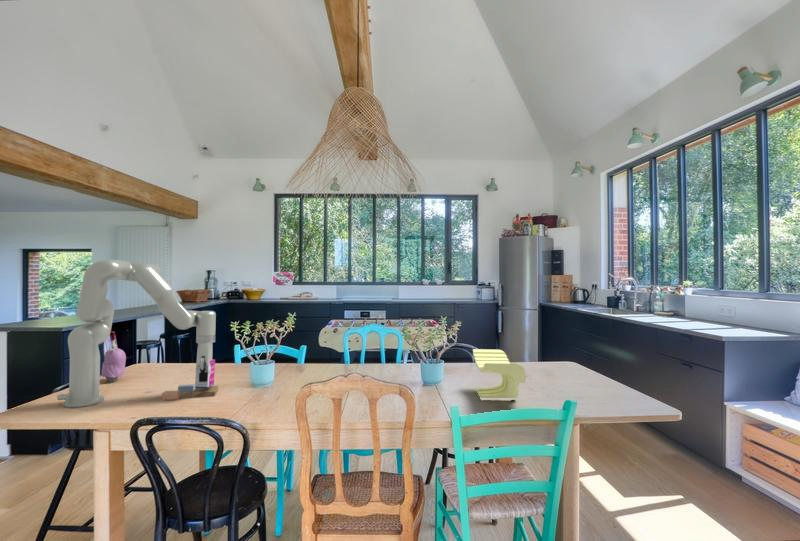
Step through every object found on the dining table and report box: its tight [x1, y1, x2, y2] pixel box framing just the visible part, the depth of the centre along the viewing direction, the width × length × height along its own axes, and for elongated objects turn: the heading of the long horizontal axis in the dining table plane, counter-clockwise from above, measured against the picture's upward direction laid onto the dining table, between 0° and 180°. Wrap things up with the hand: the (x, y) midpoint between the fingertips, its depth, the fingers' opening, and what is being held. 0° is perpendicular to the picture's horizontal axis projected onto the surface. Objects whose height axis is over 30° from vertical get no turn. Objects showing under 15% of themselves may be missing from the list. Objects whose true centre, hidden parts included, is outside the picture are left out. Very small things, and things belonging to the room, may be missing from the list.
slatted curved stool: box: [472, 348, 526, 399], centre depth 165 cm, size 30×16×18 cm, turn 178°
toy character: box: [100, 339, 127, 383], centre depth 186 cm, size 12×10×20 cm
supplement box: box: [194, 358, 216, 388], centre depth 166 cm, size 6×6×12 cm
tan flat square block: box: [190, 385, 219, 399], centre depth 166 cm, size 9×9×2 cm
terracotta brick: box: [161, 390, 181, 401], centre depth 159 cm, size 6×3×3 cm, turn 98°
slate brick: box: [177, 383, 195, 394], centre depth 169 cm, size 6×3×3 cm, turn 107°
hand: (204, 378), depth 166 cm, fingers closed on supplement box, 7 cm apart
